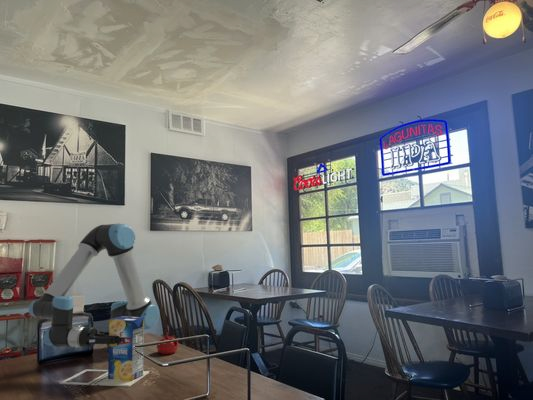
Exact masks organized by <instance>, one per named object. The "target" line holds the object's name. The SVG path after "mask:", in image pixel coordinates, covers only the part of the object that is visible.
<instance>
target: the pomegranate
mask: <svg viewBox="0 0 533 400" xmlns="http://www.w3.org/2000/svg"><path fill="white" fill-rule="evenodd" d="M165 334H166V335H165V336H162V337H161V336H160V337H159V336H158V338H159V340H158V342H159V341H164V340H168V339H176V337H174V335H171V336H170V335H169V332H166V333H165ZM158 342H157V343H158ZM178 347H179V342H178V341H177V342H171V343H166V344H160V345H156V349H157V352H158V353H159V354H161V355H172V354H175V353H176V352H177V350H178V349H179V348H178Z"/></svg>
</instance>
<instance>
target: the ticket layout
mask: <svg viewBox="0 0 533 400" xmlns="http://www.w3.org/2000/svg"><path fill="white" fill-rule="evenodd" d="M86 372H95V373H96V372H97V373H103V374H101V375H99V376H98V377H95V378H94V379H92V380H90V381H89V382H74V381H72V382H71V380H73V379H75V378H76V377H79V376H80V375H83V374H84V373H86ZM149 372H150V370H143V376H141V377H139V378H137V379H135V380H133V381H124V380H115V379H108V369H84V370H82V371H80V372H78V373H76V374H74V375H73V376H71V377H68V378H66V379H64V380H62V381H59V385H80V386H98V385H99V386H107V387H129V388H130V387H131V386H132V385H133V384H136V382H138V381H139V380H141V379H142V378H144V377H145V376H147V375H148V374H149Z"/></svg>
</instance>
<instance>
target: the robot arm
mask: <svg viewBox="0 0 533 400" xmlns="http://www.w3.org/2000/svg"><path fill="white" fill-rule="evenodd" d="M135 240H136V234H135V231H134V229H133V228H132V227H131V226H130V225H128V224H126V223H119V222H117V223H109V224H100V225H97V226H96V227H94V228H93V229H91V230H90V231H89V232H88V233H87V234H86V235H85V236H84V237H83V238H82V239H81V241H80V242H79V243H78V246H77V247H78V248H77V249H76V251H75V252H74V254H73V255H72V256H71V258H70V259H69V261H68V262H67V263H66V264H65V266H64V267H63V268H62V270H60V272H59V273H58V275H57V276H56V277H55V279H54V280H53V281H52V282H51V284H50V285H49V287H48V288H47V289H46V290H45V291H44V293H43V294H42V295H41V297H40V298H38V299H35V300H32V302H31V303H30V304H29V307H28V313H29V315H30V316H31V317H33V318H36V319H46V320H51V326H49V327H48V328H46V330H45V331H44V335H43V342H44V343H45V345H46V346H48V347H54V348H55V347H56V348H58V347H61V348H62V347H63V348H64V347H65V348H66V347H70V348H71V347H72V348H74V347H75V349H78V348H92V347H93V346H95V345H106V346H105V347H106V348H105V349H106V351H108V352H109V344H116V343H117V345H119V342H125V340H124V339H125V338H119V336H109V330H107V331H103V330H99V331H98V330H97V328H96V327H94V326H73V316H74V314H73V313H74V297H73V296H72V295H67V294H68V292H69V291H70V289H71V288H72V287H73V285H74V284H75V283H76V281H77V280H78V278H79V277H80V276H81V274H82V273H83V272H84V270H85V269H86V267H88V265H89V264H90V262H91V261H92V259H93V258H95V257H97V256H98V255H99V253H100V252H101V251H104V250H106V252H107V255H108V257H109V258H113V259H112V260H113V262H114V265H115V268H116V271H117V274H118V277H119V279H120V282H121V285H122V289H123V291H124V295H125V297H126V300H124V301H123V300H122V301H117V302H113V303H112V304H111V306H110V319H113V318H117V317H121V316H126V317H144V330H149V329H150V330H151V329H152V328H153V327H155V325H156V324H157V323H158V320H159V318H160V309H159V307H158V306H157V305H155V304H153V303H152V300H151V298H150V296H147V295H146V293H145V289H144V286H143V283H142V280H141V277H140V273H139V271H138V268H137V265H136V262H135V259H134V256H133V253H132V251H133V250H134V244H135ZM122 339H123V340H122ZM135 343H137V335H136V336H135Z"/></svg>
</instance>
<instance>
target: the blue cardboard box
mask: <svg viewBox="0 0 533 400" xmlns="http://www.w3.org/2000/svg"><path fill="white" fill-rule="evenodd" d="M108 320H109V322H108V324H109V325H108V326H109V327H108V331H109V336H119V338H125V339H124V340H125V342H119V345H117V343H116V344H109V351H108V360H107V361H108V364H107V366H108V367H107V370H108V374H107V375H108V379H115V380H124V381H133V380H135V379H137V378H139V377H141V376H143V371H144V347H135V348H134V349H132V348H133V347H134V346H136V345H144V340H145V339H144V335H145V333H144V332H145V329H144V317H126V316H121V317H117V318H113V319H111V318H109V319H108ZM136 335H137V343H135V336H136ZM122 340H123V339H122ZM135 350H137V351H138V352H140V353H142V354H143V356H142V355H140V354H139V353H137V352H136V351H135Z"/></svg>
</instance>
